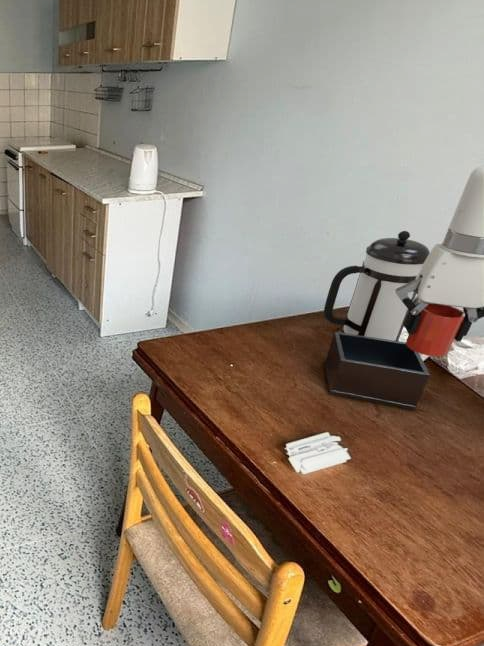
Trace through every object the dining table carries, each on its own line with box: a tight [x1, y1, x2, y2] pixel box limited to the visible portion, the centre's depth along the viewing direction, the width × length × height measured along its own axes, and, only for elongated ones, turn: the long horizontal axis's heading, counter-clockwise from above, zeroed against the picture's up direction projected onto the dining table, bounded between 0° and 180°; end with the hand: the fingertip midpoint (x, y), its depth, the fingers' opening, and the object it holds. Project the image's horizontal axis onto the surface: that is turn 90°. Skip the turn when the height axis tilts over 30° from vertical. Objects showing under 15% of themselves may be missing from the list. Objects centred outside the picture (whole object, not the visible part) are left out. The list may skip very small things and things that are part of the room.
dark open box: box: [324, 331, 431, 411], centre depth 106 cm, size 16×14×9 cm
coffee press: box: [323, 230, 431, 341], centre depth 118 cm, size 17×16×30 cm
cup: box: [405, 303, 465, 358], centre depth 88 cm, size 6×6×8 cm
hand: (432, 333), depth 88 cm, fingers closed on cup, 6 cm apart
